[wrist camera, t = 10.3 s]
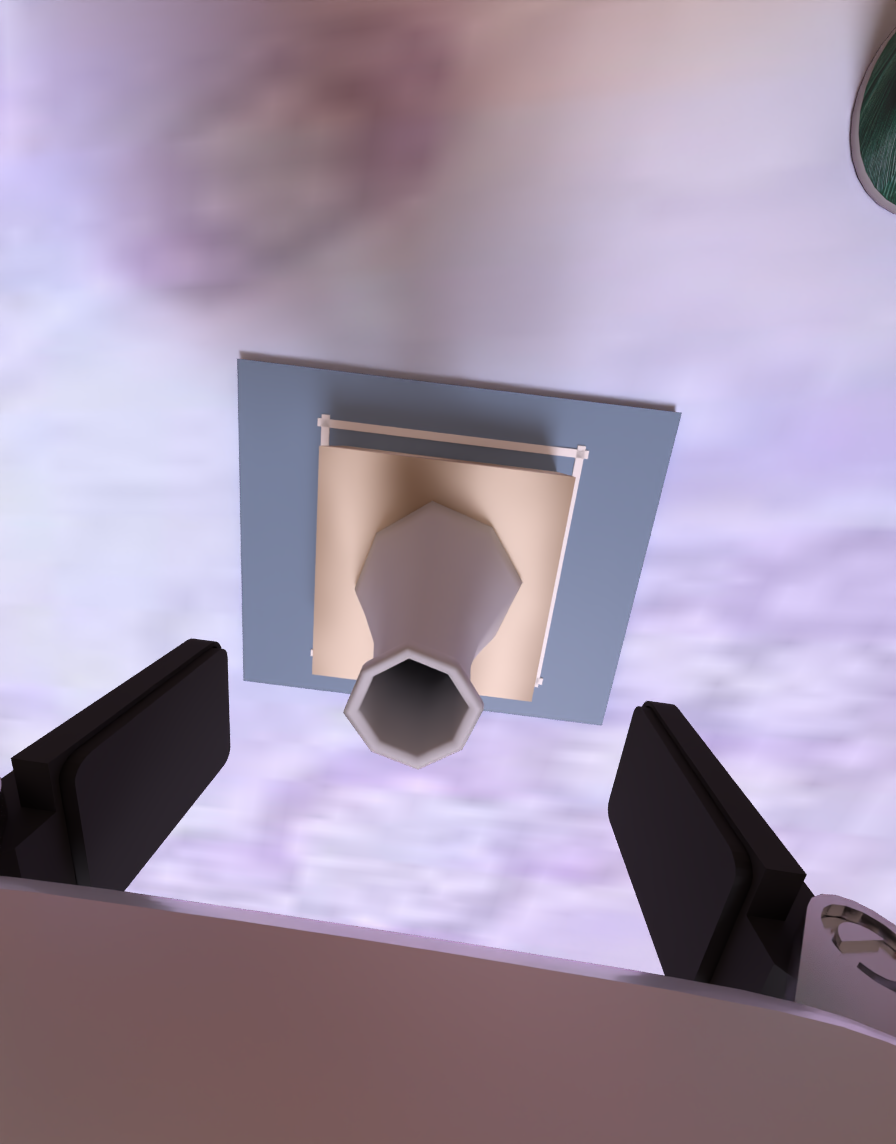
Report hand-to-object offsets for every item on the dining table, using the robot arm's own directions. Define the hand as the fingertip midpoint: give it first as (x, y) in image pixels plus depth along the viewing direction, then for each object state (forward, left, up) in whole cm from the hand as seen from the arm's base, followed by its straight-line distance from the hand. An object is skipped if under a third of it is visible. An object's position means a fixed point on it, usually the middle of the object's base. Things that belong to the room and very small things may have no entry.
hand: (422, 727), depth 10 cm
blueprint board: (+1, 0, -15) cm, 15 cm away
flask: (0, 0, -11) cm, 11 cm away
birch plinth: (+1, 0, -15) cm, 15 cm away
